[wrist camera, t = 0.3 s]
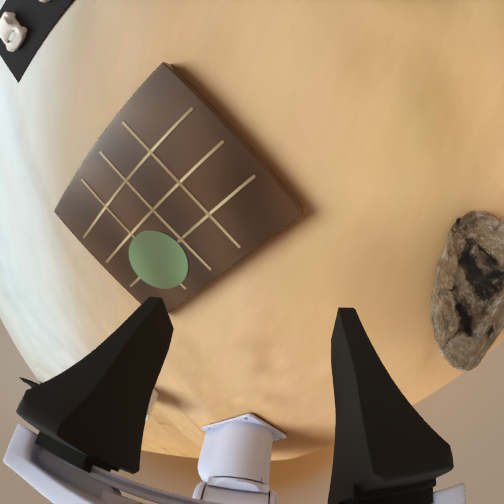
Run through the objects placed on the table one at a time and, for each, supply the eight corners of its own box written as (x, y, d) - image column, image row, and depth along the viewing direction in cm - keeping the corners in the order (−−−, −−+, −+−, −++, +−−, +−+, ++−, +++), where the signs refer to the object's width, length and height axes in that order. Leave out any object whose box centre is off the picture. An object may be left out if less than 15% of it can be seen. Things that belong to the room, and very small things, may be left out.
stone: (421, 333, 24) (447, 388, 17) (433, 213, 19) (484, 256, 12) (477, 316, 23) (508, 362, 16) (497, 203, 17) (550, 238, 11)
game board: (162, 312, 26) (158, 320, 25) (61, 206, 22) (53, 211, 21) (303, 208, 20) (303, 214, 19) (169, 63, 16) (162, 61, 15)
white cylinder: (148, 400, 35) (139, 423, 31) (125, 384, 34) (114, 406, 30) (163, 394, 33) (154, 418, 30) (140, 377, 32) (128, 401, 29)
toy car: (17, 54, 15) (5, 55, 14) (0, 29, 13) (-11, 30, 12) (67, -17, 12) (55, -21, 11) (44, -35, 10) (34, -38, 9)
